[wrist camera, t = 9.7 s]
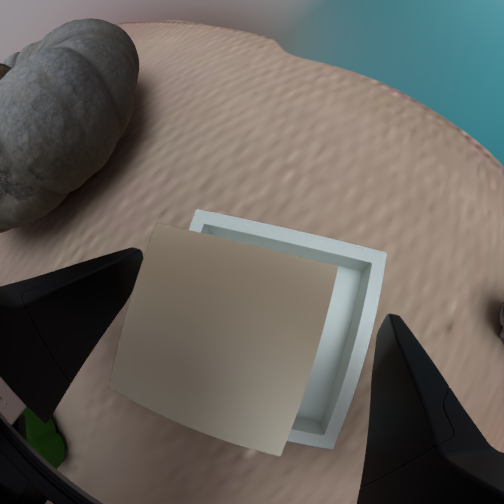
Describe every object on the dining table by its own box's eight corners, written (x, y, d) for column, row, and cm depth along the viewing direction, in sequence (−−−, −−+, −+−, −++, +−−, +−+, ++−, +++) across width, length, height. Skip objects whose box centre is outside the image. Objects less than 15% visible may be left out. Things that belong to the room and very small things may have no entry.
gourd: (-6, 302, 18) (-123, 217, 3) (13, 165, 30) (-41, 94, 14) (196, 169, 21) (117, -40, 6) (143, 78, 32) (106, -16, 17)
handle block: (288, 370, 16) (280, 456, 4) (226, 352, 17) (108, 387, 5) (306, 308, 17) (338, 266, 5) (244, 291, 17) (156, 222, 6)
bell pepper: (70, 408, 17) (-18, 424, 8) (83, 480, 15) (13, 512, 5) (21, 384, 18) (-52, 386, 9) (32, 449, 16) (-32, 464, 7)
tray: (326, 431, 15) (332, 449, 12) (163, 382, 17) (142, 389, 14) (372, 264, 17) (386, 252, 14) (209, 226, 20) (196, 209, 17)
